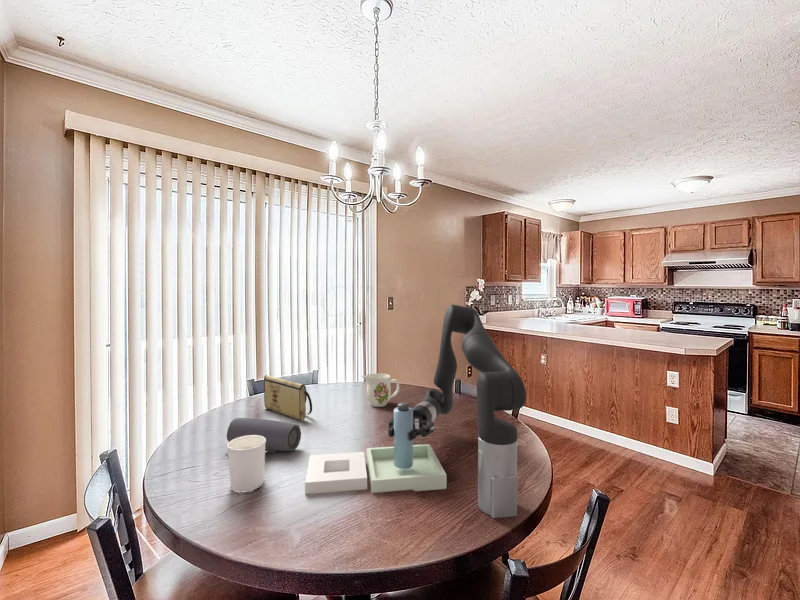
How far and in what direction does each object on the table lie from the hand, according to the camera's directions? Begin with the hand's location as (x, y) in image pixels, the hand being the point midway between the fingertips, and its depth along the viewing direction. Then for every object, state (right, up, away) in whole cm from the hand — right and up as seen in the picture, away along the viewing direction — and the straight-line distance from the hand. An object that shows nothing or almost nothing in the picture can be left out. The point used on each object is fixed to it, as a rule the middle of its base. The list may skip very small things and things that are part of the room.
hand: (399, 435), depth 108 cm
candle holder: (-41, -12, -4) cm, 43 cm away
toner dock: (-18, -12, 0) cm, 21 cm away
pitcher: (-9, -10, +67) cm, 68 cm away
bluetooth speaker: (-45, -12, +19) cm, 50 cm away
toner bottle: (+1, -9, +3) cm, 10 cm away
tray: (+1, -12, +3) cm, 12 cm away
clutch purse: (-48, -10, +55) cm, 74 cm away
